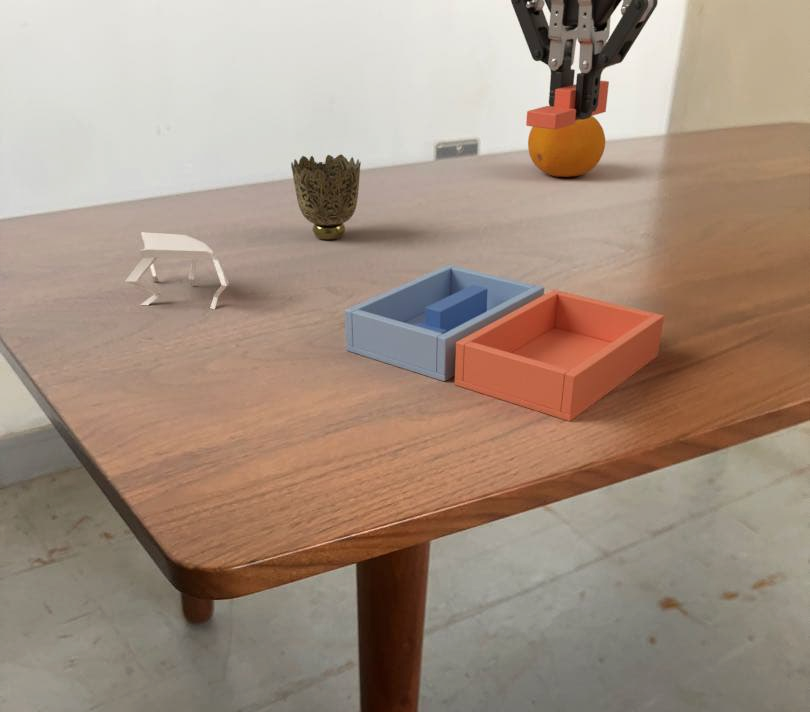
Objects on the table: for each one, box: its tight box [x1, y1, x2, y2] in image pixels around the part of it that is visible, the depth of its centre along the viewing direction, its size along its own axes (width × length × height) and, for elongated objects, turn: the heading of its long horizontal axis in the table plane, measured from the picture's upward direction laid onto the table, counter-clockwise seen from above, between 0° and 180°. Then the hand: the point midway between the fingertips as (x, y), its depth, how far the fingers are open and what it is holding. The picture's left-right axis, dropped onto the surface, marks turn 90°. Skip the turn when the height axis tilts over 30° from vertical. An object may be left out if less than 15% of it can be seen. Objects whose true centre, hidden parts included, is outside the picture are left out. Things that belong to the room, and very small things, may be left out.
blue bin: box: [344, 264, 545, 382], centre depth 77 cm, size 10×15×4 cm
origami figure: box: [124, 231, 230, 310], centre depth 85 cm, size 12×8×5 cm
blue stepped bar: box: [414, 285, 488, 334], centre depth 77 cm, size 10×3×3 cm, turn 142°
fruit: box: [527, 115, 606, 178], centre depth 125 cm, size 10×10×8 cm
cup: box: [290, 154, 361, 241], centre depth 100 cm, size 8×7×8 cm
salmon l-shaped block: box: [525, 80, 610, 129], centre depth 82 cm, size 10×3×3 cm, turn 142°
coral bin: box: [454, 289, 665, 422], centre depth 72 cm, size 10×15×4 cm
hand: (571, 116), depth 83 cm, fingers closed on salmon l-shaped block, 1 cm apart
